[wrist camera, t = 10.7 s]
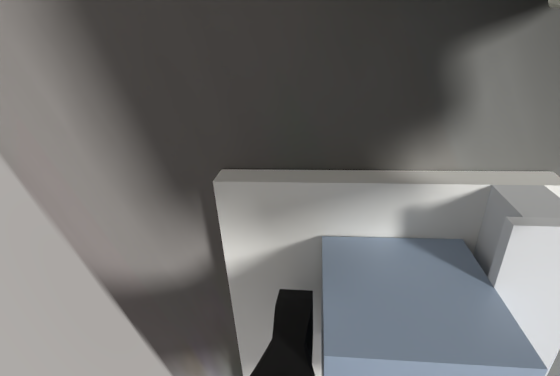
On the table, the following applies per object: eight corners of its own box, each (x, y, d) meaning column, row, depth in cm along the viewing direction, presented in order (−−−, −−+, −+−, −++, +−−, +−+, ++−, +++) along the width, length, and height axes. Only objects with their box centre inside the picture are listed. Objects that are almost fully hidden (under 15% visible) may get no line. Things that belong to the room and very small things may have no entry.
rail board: (471, 402, 16) (502, 486, 13) (251, 381, 17) (236, 452, 14) (552, 171, 10) (635, 228, 8) (221, 169, 12) (187, 216, 9)
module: (437, 344, 13) (492, 494, 9) (321, 338, 13) (322, 477, 9) (462, 239, 11) (551, 374, 7) (321, 236, 11) (324, 360, 7)
